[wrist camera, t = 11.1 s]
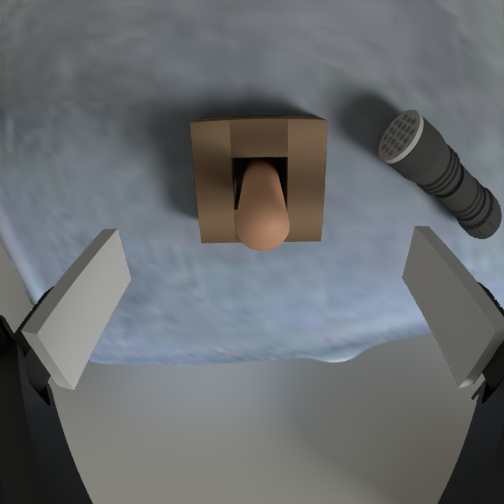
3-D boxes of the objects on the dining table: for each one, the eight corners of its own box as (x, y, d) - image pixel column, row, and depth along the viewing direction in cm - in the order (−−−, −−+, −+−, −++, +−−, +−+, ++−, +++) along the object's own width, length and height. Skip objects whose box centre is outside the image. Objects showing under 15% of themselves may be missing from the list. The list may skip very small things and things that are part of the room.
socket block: (200, 118, 24) (189, 122, 20) (317, 116, 23) (327, 120, 20) (208, 223, 29) (201, 242, 25) (313, 221, 28) (320, 241, 25)
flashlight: (486, 194, 26) (514, 213, 21) (462, 229, 28) (487, 253, 24) (399, 107, 23) (429, 113, 18) (370, 152, 25) (394, 167, 20)
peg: (243, 155, 25) (233, 203, 15) (275, 153, 25) (289, 200, 15) (245, 185, 27) (237, 251, 16) (277, 184, 27) (289, 249, 16)
